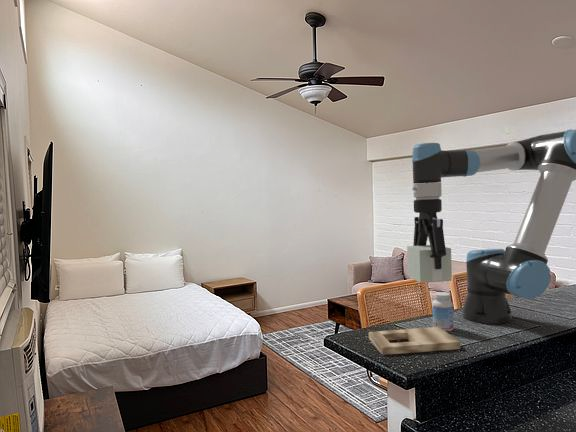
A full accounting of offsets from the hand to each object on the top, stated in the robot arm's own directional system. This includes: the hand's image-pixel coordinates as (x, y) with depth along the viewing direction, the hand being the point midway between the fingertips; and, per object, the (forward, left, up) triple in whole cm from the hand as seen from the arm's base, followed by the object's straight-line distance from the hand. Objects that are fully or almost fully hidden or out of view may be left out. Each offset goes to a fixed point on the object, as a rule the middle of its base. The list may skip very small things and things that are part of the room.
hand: (429, 277), depth 119 cm
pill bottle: (-9, -10, -19) cm, 23 cm away
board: (+5, 0, -19) cm, 20 cm away
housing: (0, 0, 0) cm, 0 cm away
